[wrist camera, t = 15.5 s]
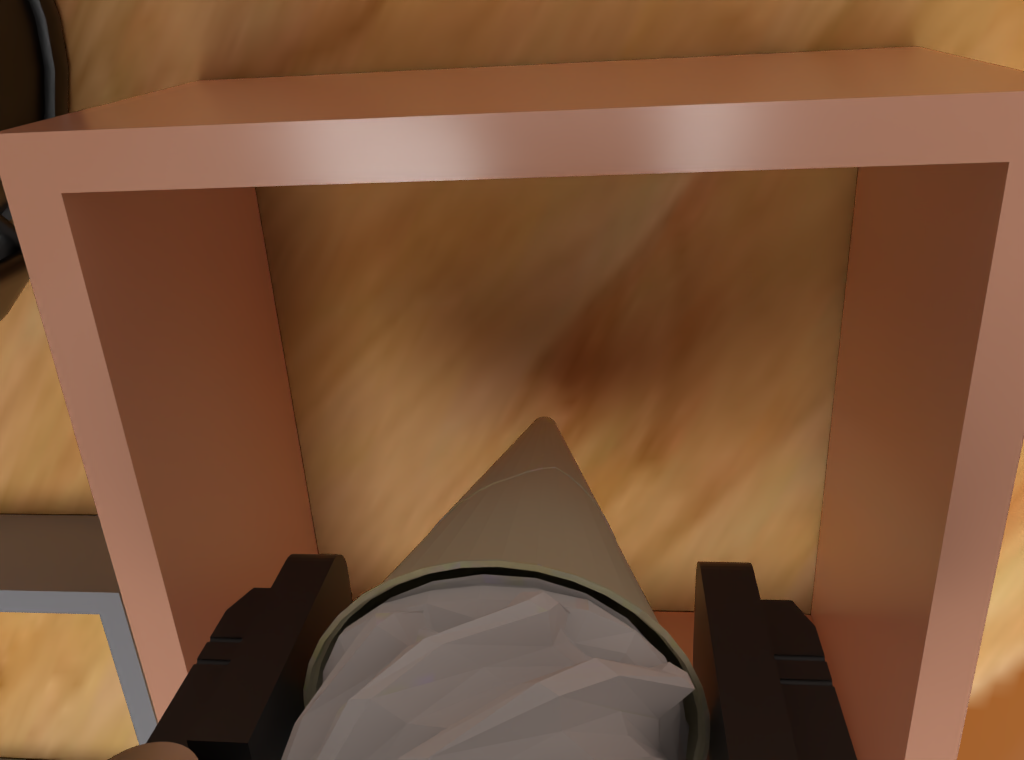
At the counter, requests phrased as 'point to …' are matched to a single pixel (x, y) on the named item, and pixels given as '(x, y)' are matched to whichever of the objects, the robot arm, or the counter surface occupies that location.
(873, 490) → the bin
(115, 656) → the frame
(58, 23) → the french press
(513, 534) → the ice cream cone
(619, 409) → the counter surface
